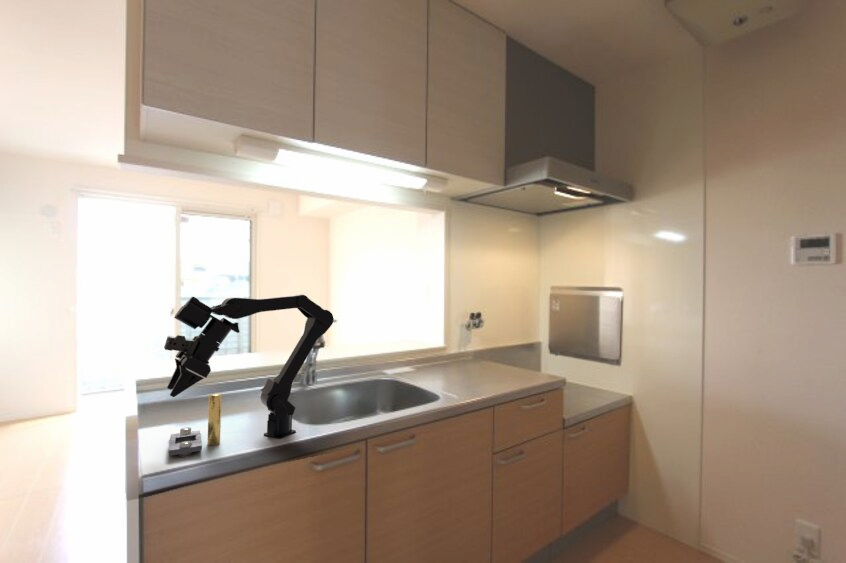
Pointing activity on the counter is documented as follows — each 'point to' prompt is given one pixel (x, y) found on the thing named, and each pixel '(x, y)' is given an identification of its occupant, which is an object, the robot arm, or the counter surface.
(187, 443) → the grey slotted block
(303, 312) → the robot arm
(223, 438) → the counter surface
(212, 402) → the pin
